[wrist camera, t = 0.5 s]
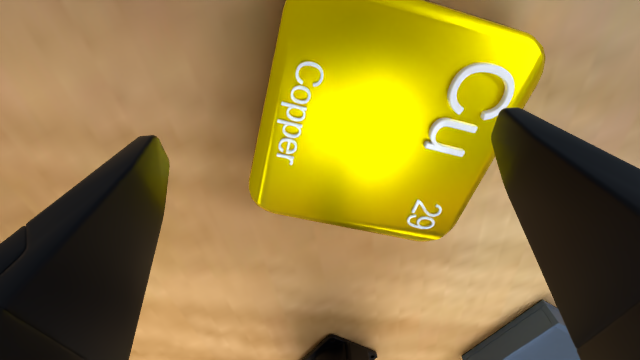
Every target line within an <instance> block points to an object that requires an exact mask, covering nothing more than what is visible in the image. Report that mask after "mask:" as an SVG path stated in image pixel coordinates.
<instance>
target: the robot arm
mask: <svg viewBox="0 0 640 360" xmlns="http://www.w3.org/2000/svg"><path fill="white" fill-rule="evenodd" d="M491 143H492V146H493V150H494V153H495V156H496V160H497V163H498V166H499V170H500V173H501V177H502V180H503V183H504V186H505V189H506V191H507V194H508V196H509V199H510V201H511V203H512V205H513V208H514V210H515V212H516V214H517V217H518V219H519V221H520V223H521V226H522V228H523V230H524V233H525V235H526V237H527V239H528V242H529V244H530V246H531V248H532V251H533V253H534V255H535V257H536V260H537V262H538V264H539V267H540V269H541V271H542V273H543V276H544V278H545V280H546V282H547V285H548V287H549V289H550V291H551V294H552V296H553V298H554V301H555V303H556V305H557V307H558V310H559V312H560V314H561V316H562V319H563V321H564V323H565V325H566V328H567V330H568V332H569V334H570V337H571V339H572V341H573V344H574V346H575V348H576V349H577V350H576V351H577V353H578V355H579V358H580V360H640V169H639V168H637V167H635V166H633V165H631V164H629V163H627V162H625V161H623V160H621V159H619V158H617V157H615V156H613V155H611V154H609V153H607V152H605V151H603V150H601V149H599V148H597V147H595V146H593V145H591V144H590V143H588V142H586V141H584V140H582V139H580V138H578V137H576V136H574V135H572V134H570V133H568V132H566V131H564V130H562V129H560V128H558V127H556V126H554V125H552V124H550V123H548V122H546V121H544V120H542V119H541V118H539V117H537V116H535V115H533V114H531V113H529V112H527V111H525V110H523V109H521V108H518V107H514V108H504V109H502V110H501V111H500V112H499V114H498V117H497V119H496V122H495V125H494V127H493V130H492V133H491ZM168 175H169V159H168V157H167V155H166V153H165V151H164V149H163V146H162V144H161V142H160V140H159V139H158V138H157V137H156V136H154V135H150V136H140V137H138V138H137V139H135V140H134V141H133V142H131V143H130V144H129V145H128V146H126V147H125V148H124V149H122V150H121V151H120V152H118V153H117V154H116V155H115V156H113V157H112V158H111V159H109V160H108V161H107V162H106V163H104V164H103V165H102V166H100V167H99V168H98V169H96V170H95V171H94V172H93V173H91V174H90V175H89V176H87V177H86V178H85V179H84V180H82V181H81V182H80V183H78V184H77V185H76V186H74V187H73V188H72V189H71V190H69V191H68V192H67V193H65V194H64V195H63V196H62V197H60V198H59V199H58V200H56V201H55V202H54V203H52V204H51V205H50V206H49V207H47V208H46V209H45V210H43V211H42V212H41V213H40V214H38V215H37V216H36V217H34V218H33V219H32V220H30V221H29V222H28V223H27V224H26V226H23V227H21V228H20V229H19V230H17V231H16V232H15V233H14V234H12V235H11V236H10V237H8V238H7V239H6V240H4V241H3V242H2V243H0V360H129V356H130V352H131V348H132V344H133V340H134V336H135V332H136V328H137V323H138V319H139V315H140V311H141V307H142V303H143V299H144V295H145V291H146V287H147V283H148V278H149V274H150V270H151V266H152V262H153V258H154V254H155V250H156V246H157V242H158V238H159V233H160V229H161V225H162V221H163V216H164V210H165V202H166V193H167V184H168ZM376 358H377V353H376V352H375V351H373V350H371V349H368V348H366V347H364V346H361V345H359V344H356V343H354V342H351V341H349V340H346V339H344V338H342V337H339V336H337V335H334V334H331V335H329V336H327V337H326V338H325V339H324V340H323V341H322V342H321V343H320V344H319V345H318V346H317V347H316V348H315V349H313V350H312V351H311V352H310V353H309V354H308V355H307V356H306V357H305V358H304V359H303V360H375V359H376Z"/></svg>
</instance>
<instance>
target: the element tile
mask: <svg viewBox="0 0 640 360" xmlns="http://www.w3.org/2000/svg"><path fill="white" fill-rule="evenodd" d="M544 63H545V54H544V50H543V47H542V45H541V44H540V43H539V42H538V41H537V40H536V39H535V38H534V37H533V36H532V35H530V34H529V33H526V32H523V31H520V30H517V29H514V28H511V27H508V26H505V25H502V24H499V23H496V22H492V21H489V20H486V19H483V18H480V17H477V16H474V15H470V14H467V13H464V12H461V11H458V10H455V9H451V8H448V7H445V6H442V5H439V4H436V3H432V2H429V1H426V0H286V2H285V4H284V7H283V11H282V16H281V21H280V26H279V31H278V37H277V42H276V47H275V52H274V57H273V62H272V67H271V72H270V77H269V82H268V87H267V92H266V97H265V102H264V107H263V112H262V117H261V122H260V127H259V132H258V137H257V142H256V147H255V152H254V157H253V162H252V167H251V172H250V177H249V190H250V194H251V197H252V199H253V200H254V202H255V203H256V204H257V205H258V206H259V207H261V208H263V209H264V210H266V211H269V212H272V213H275V214H280V215H285V216H290V217H295V218H300V219H306V220H311V221H316V222H321V223H326V224H331V225H337V226H342V227H347V228H352V229H357V230H362V231H368V232H373V233H378V234H383V235H388V236H393V237H399V238H404V239H409V240H414V241H431V240H437V239H440V238H441V237H443V236H444V235H445V234H447V233H448V232H449V231H450V230H451V229H452V228H453V227H454V225H455V224H456V222H457V221H458V219H459V217H460V216H461V214H462V212H463V210H464V209H465V207H466V205H467V204H468V202H469V200H470V198H471V197H472V195H473V193H474V192H475V190H476V188H477V187H478V185H479V183H480V181H481V180H482V178H483V176H484V175H485V173H486V171H487V169H488V168H489V166H490V164H491V163H492V161H493V159H494V157H495V153H494V150H493V146H492V143H491V133H492V130H493V127H494V125H495V122H496V119H497V117H498V114H499V112H500V111H501V110H502V109H504V108H514V107H518V108H521V109H523V108H524V106H525V104H526V103H527V101H528V99H529V98H530V96H531V94H532V92H533V91H534V89H535V87H536V86H537V84H538V82H539V80H540V77H541V75H542V73H543V69H544Z"/></svg>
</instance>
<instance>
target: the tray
mask: <svg viewBox="0 0 640 360" xmlns="http://www.w3.org/2000/svg"><path fill="white" fill-rule="evenodd" d="M576 350H577V349H576V348H575V346H574V344H573V341H572V339H571V337H570V334H569V332H568V330H567V328H566V325H565V323H564V321H563V319H562V316H561V314H560V312H559V310H558V308H556V307H554V306H553V305H551V304H549V303H547V302H546V301H544V300H541V301H540V302H538V303H537V304H536V305H534V306H533V307H531V308H530V309H528V310H527V311H526V312H524V313H523V314H521V315H520V316H519V317H517V318H516V319H514V320H513V321H511V322H510V323H509V324H507V325H506V326H504V327H503V328H501V329H500V330H499V331H497V332H496V333H494V334H493V335H491V336H490V337H489V338H487V339H486V340H484V341H483V342H481V343H480V344H479V345H477V346H476V347H474V348H473V349H472V350H470V351H469V352H467V353H466V354H464V355H463V356H462V359H463V360H580V358H579V355H578V353H577V351H576Z"/></svg>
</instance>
